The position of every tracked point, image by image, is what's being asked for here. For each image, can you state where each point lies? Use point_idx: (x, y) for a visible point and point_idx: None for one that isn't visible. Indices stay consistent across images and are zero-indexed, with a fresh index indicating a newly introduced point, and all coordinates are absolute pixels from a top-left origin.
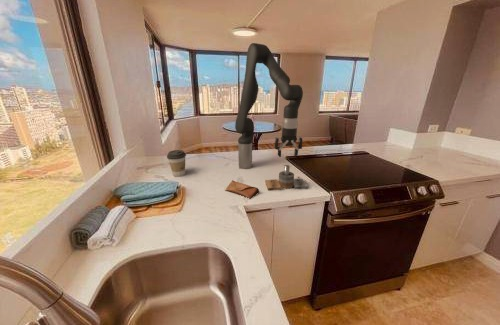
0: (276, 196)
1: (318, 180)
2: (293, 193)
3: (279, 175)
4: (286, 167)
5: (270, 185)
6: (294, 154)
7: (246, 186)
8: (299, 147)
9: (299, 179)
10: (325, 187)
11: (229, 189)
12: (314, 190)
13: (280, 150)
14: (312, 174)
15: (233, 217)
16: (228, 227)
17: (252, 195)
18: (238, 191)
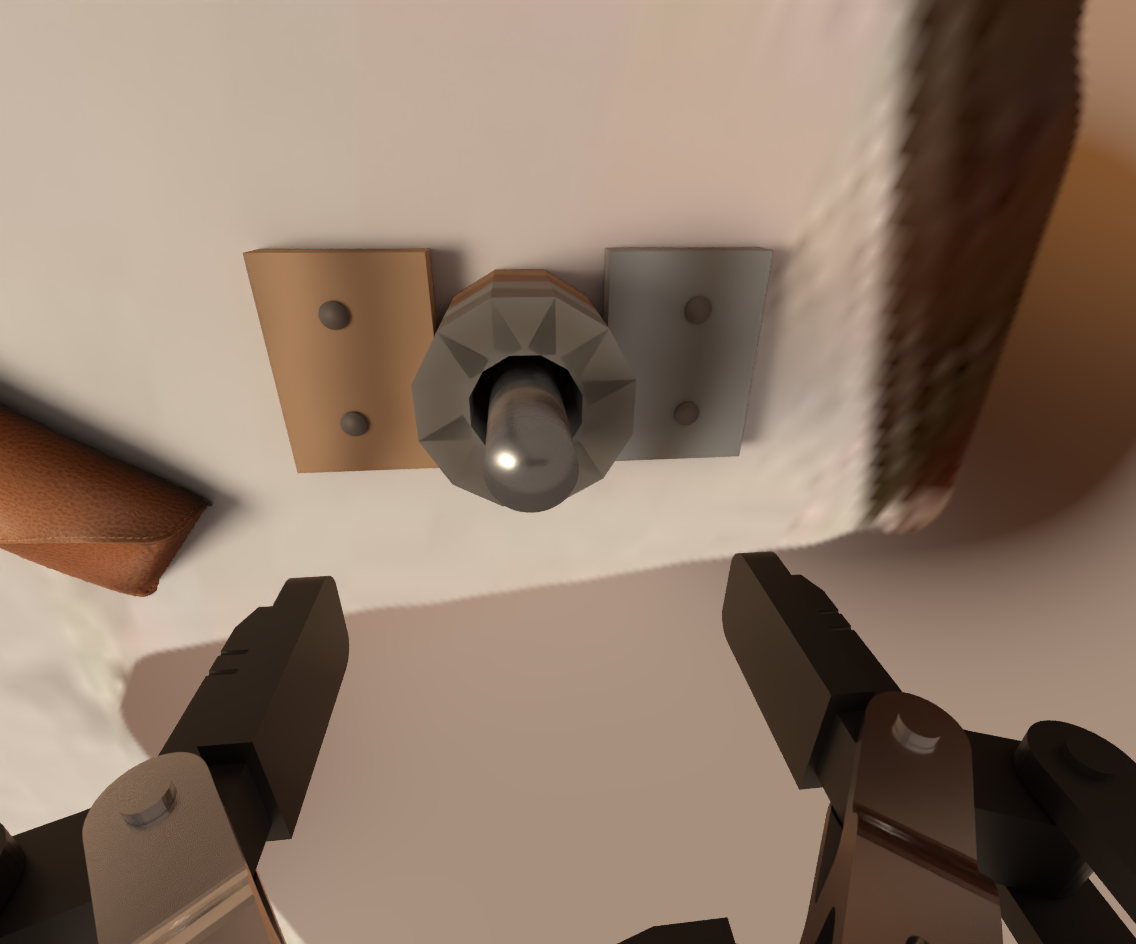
0: (393, 560)
1: (951, 261)
2: (559, 520)
3: (418, 427)
4: (513, 501)
5: (325, 419)
6: (744, 580)
7: (12, 521)
8: (982, 854)
9: (722, 284)
10: (907, 430)
11: None
12: (772, 478)
13: (260, 831)
14: (1010, 38)
15: (85, 770)
16: None
17: (150, 575)
18: None
